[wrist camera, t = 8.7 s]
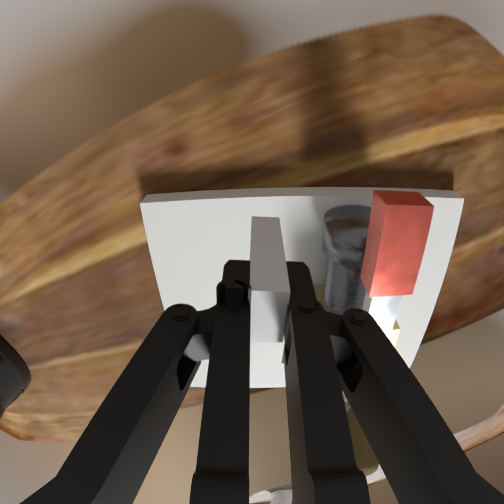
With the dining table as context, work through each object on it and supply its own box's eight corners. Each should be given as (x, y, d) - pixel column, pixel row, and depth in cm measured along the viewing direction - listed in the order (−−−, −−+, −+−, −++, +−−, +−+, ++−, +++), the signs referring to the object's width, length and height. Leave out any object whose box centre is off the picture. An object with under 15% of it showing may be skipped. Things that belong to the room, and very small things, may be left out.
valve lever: (368, 383, 25) (373, 401, 23) (333, 386, 25) (336, 406, 23) (421, 192, 16) (437, 206, 14) (370, 189, 16) (382, 204, 15)
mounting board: (189, 374, 39) (187, 386, 37) (147, 194, 27) (139, 203, 25) (402, 363, 38) (406, 374, 36) (453, 190, 26) (464, 198, 24)
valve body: (297, 382, 37) (302, 436, 30) (309, 205, 25) (326, 256, 19) (353, 378, 36) (365, 430, 30) (391, 205, 25) (431, 252, 18)
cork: (352, 400, 42) (365, 465, 33) (377, 408, 44) (391, 468, 35) (324, 419, 45) (332, 480, 36) (350, 425, 47) (360, 483, 37)
